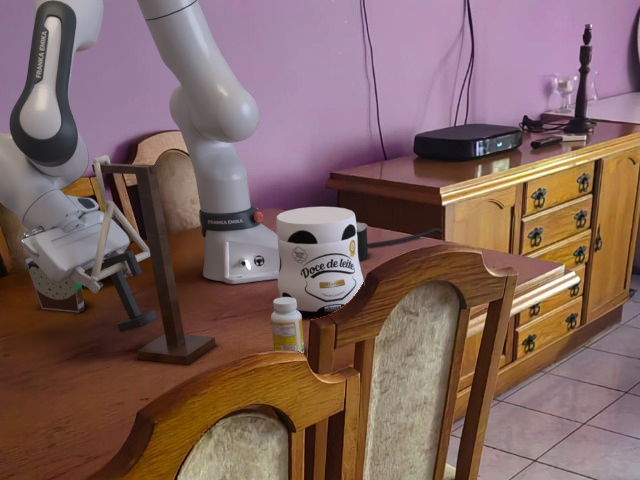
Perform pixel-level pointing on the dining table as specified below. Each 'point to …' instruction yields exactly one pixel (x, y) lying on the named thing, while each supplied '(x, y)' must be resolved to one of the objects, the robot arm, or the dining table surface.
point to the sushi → (362, 241)
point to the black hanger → (128, 292)
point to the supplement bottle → (287, 325)
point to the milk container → (318, 258)
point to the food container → (55, 290)
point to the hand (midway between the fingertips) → (115, 282)
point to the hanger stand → (174, 341)
